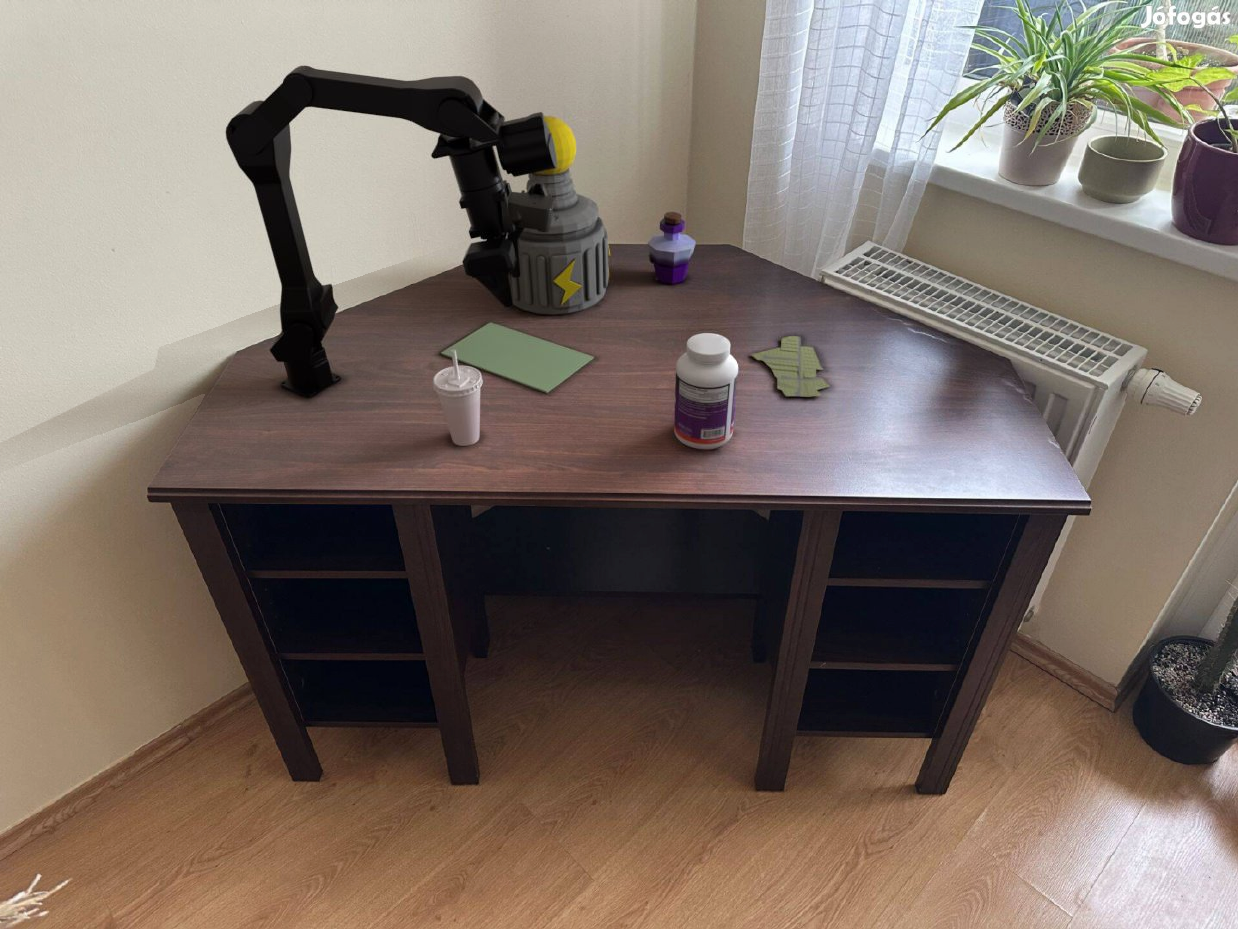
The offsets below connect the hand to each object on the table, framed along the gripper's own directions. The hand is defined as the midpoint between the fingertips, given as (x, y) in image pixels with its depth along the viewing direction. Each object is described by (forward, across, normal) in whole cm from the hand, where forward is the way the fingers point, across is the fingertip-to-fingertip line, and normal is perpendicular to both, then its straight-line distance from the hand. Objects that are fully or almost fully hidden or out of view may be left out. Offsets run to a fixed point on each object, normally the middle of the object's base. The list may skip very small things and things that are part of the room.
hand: (513, 291), depth 122 cm
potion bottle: (+19, +35, -20) cm, 45 cm away
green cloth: (+14, +7, +4) cm, 17 cm away
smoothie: (+14, -15, +9) cm, 22 cm away
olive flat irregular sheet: (+22, +4, -37) cm, 43 cm away
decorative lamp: (+15, +29, 0) cm, 33 cm away
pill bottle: (+20, -14, -23) cm, 33 cm away
